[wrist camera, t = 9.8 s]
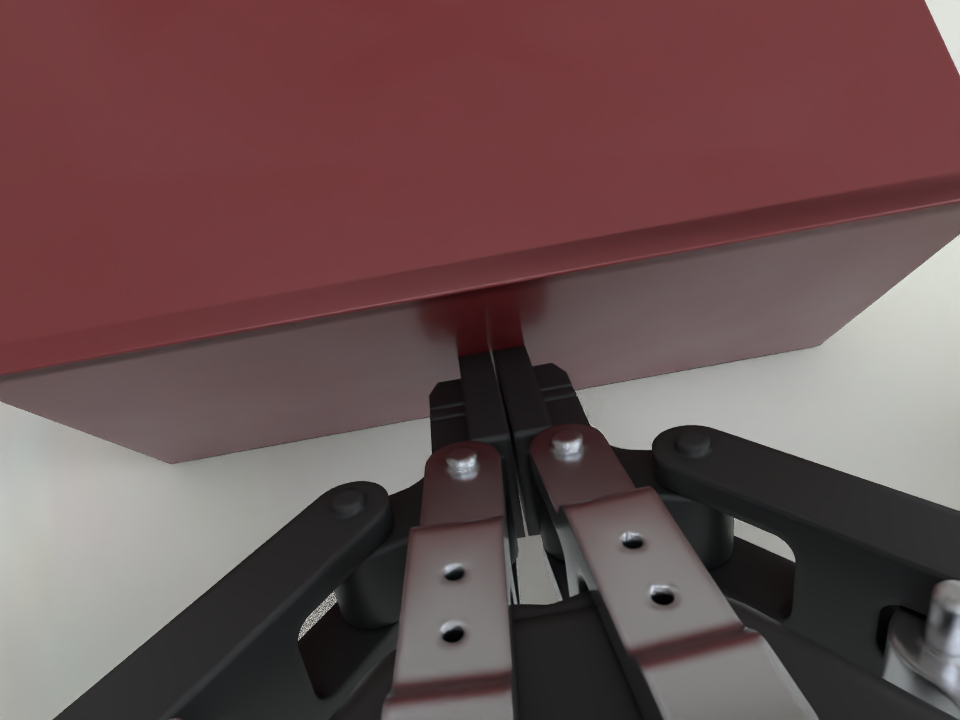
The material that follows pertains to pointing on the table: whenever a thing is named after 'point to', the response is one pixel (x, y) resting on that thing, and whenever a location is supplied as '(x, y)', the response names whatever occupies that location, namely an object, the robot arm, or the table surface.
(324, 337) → the thick red book
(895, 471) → the table surface
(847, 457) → the table surface
